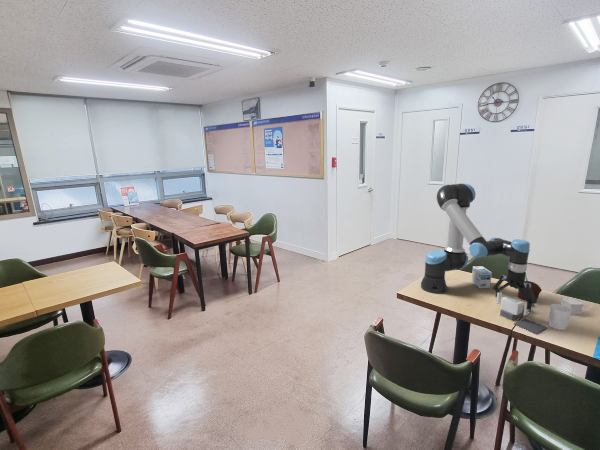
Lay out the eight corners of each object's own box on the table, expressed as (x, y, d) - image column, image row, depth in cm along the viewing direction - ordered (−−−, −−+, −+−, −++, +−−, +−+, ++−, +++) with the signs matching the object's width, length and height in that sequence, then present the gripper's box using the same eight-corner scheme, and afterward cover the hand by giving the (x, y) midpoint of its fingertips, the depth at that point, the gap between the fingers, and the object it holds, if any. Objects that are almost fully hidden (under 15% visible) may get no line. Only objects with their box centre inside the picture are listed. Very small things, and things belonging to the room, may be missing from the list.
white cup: (543, 322, 158) (546, 304, 156) (557, 321, 159) (561, 303, 157) (556, 331, 151) (560, 312, 148) (572, 330, 151) (576, 311, 149)
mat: (513, 324, 158) (513, 323, 157) (524, 319, 162) (525, 317, 162) (536, 334, 149) (536, 333, 149) (547, 328, 154) (547, 327, 153)
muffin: (540, 297, 184) (542, 281, 182) (540, 305, 176) (542, 288, 173) (515, 292, 191) (517, 276, 189) (514, 299, 182) (516, 283, 180)
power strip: (499, 315, 166) (500, 309, 165) (527, 303, 178) (528, 297, 177) (511, 320, 161) (512, 314, 160) (539, 307, 173) (540, 301, 172)
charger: (499, 311, 167) (501, 297, 166) (505, 309, 170) (507, 295, 168) (516, 318, 161) (518, 304, 159) (521, 315, 163) (523, 301, 161)
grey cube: (569, 314, 165) (571, 304, 164) (560, 309, 171) (562, 298, 170) (580, 314, 165) (583, 304, 164) (571, 308, 171) (573, 298, 169)
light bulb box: (490, 288, 197) (492, 272, 195) (479, 288, 197) (481, 272, 195) (481, 281, 208) (482, 265, 205) (470, 281, 208) (472, 266, 205)
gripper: (488, 264, 168) (483, 300, 173) (540, 280, 147) (534, 321, 152) (496, 261, 172) (491, 297, 177) (549, 277, 150) (542, 317, 155)
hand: (511, 308), depth 164 cm, fingers open, 13 cm apart
